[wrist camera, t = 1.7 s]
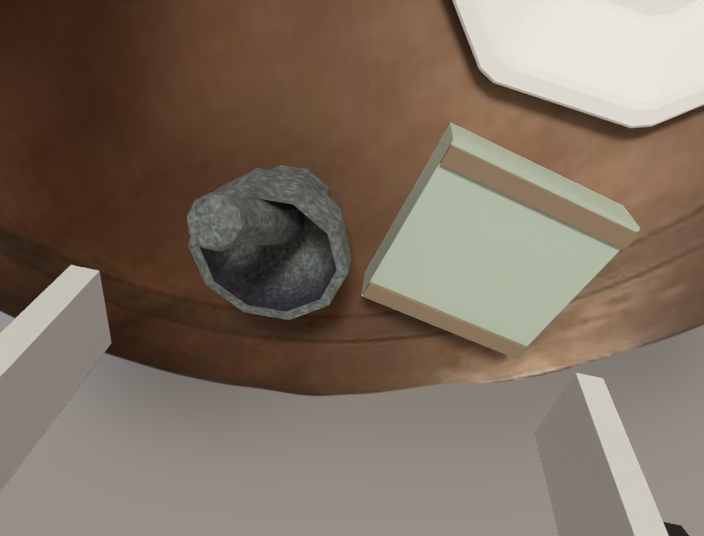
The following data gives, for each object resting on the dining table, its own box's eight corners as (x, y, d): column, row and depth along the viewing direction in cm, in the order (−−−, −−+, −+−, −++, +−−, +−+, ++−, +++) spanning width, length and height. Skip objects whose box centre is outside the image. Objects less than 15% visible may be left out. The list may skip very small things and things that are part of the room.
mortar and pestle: (367, 255, 36) (349, 375, 26) (251, 266, 38) (195, 382, 28) (337, 107, 30) (299, 194, 20) (200, 129, 32) (105, 218, 22)
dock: (364, 271, 37) (360, 298, 34) (450, 122, 29) (453, 141, 27) (508, 331, 39) (515, 361, 36) (623, 205, 31) (642, 231, 29)
